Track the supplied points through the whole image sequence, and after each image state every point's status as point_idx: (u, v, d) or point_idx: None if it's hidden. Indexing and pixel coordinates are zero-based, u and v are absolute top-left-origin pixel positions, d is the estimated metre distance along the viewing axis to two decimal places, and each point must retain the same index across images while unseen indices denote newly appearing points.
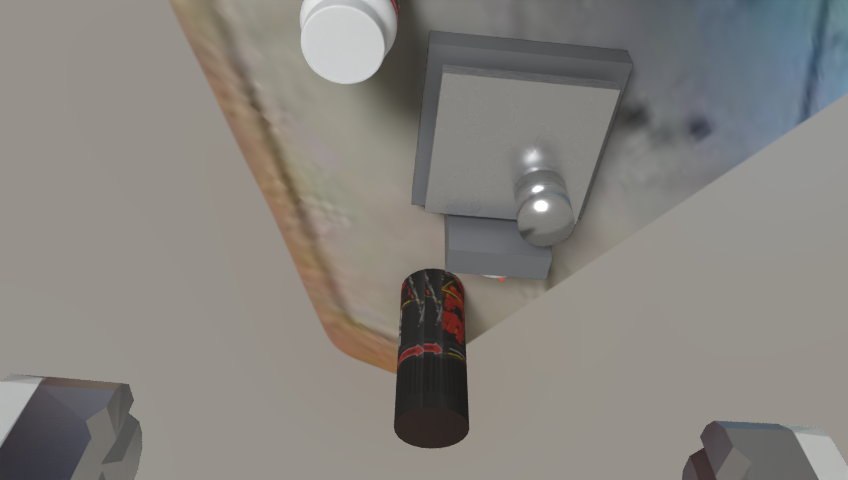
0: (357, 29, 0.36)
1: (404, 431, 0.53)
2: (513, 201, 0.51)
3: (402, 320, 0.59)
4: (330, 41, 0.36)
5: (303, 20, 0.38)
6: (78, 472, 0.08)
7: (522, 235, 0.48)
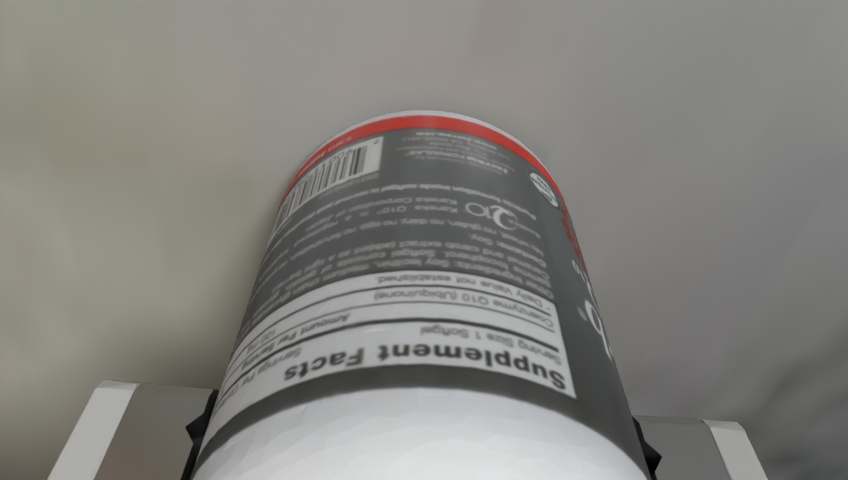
0: None
1: None
2: None
3: None
4: None
5: None
6: (184, 478, 0.08)
7: None
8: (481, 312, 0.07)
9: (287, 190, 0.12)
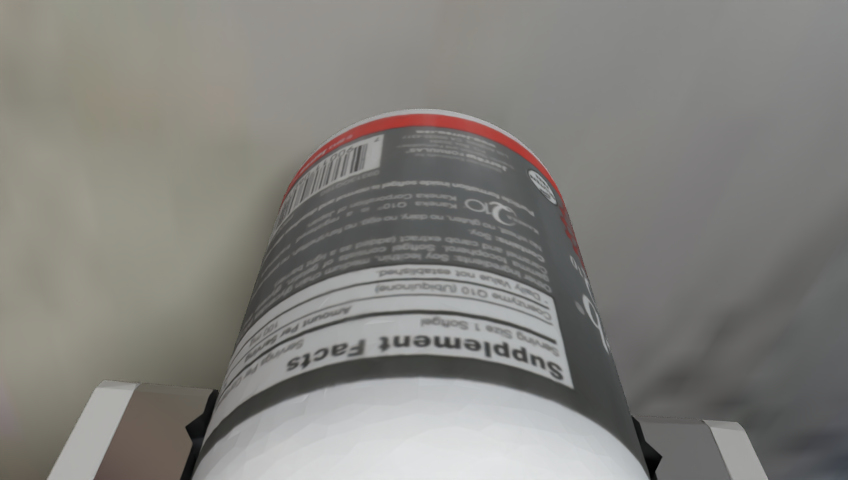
0: None
1: None
2: None
3: None
4: None
5: None
6: (183, 478, 0.08)
7: None
8: (480, 304, 0.07)
9: (289, 188, 0.12)
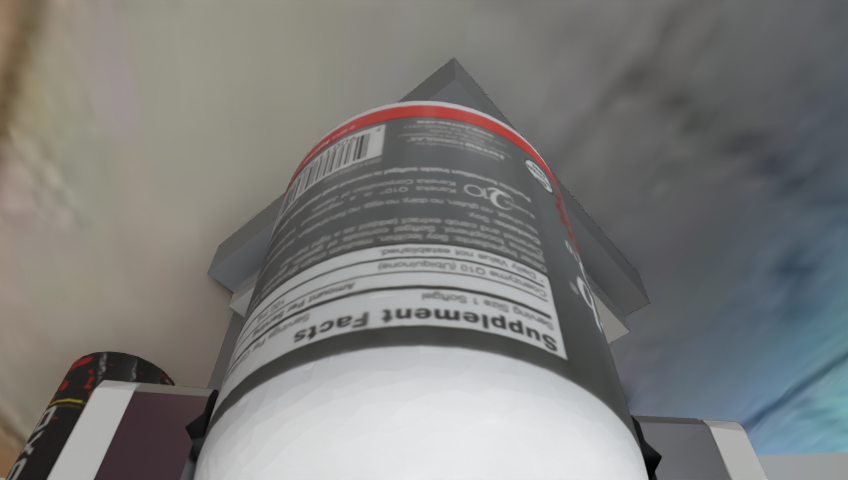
0: None
1: None
2: None
3: (47, 430, 0.31)
4: None
5: (276, 461, 0.07)
6: (183, 478, 0.08)
7: None
8: (478, 281, 0.08)
9: (293, 177, 0.12)
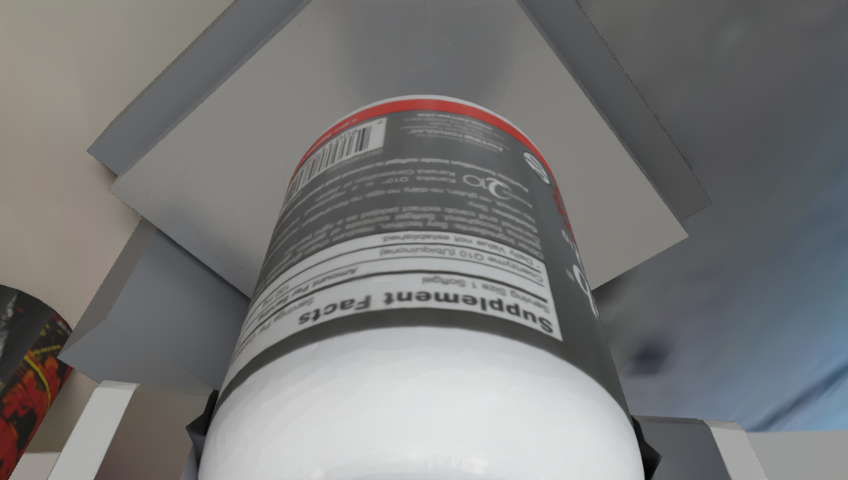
0: None
1: None
2: None
3: None
4: None
5: (282, 436, 0.07)
6: (184, 478, 0.08)
7: None
8: (478, 266, 0.08)
9: (296, 169, 0.13)
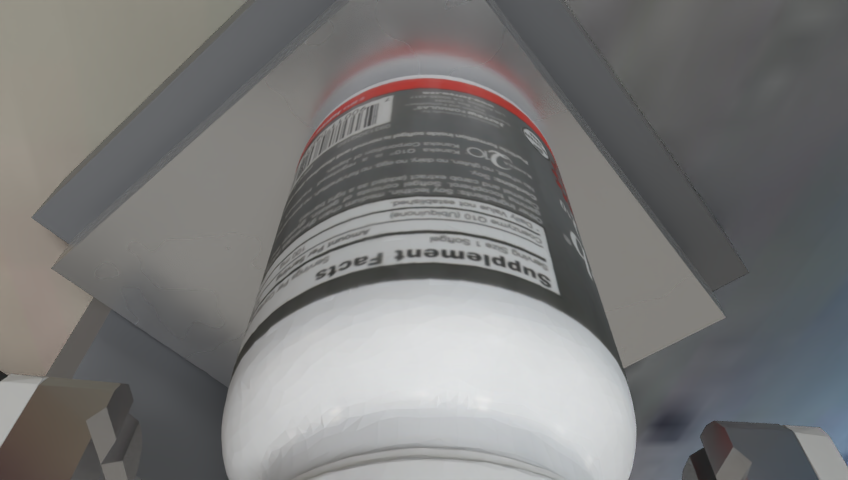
0: None
1: None
2: None
3: None
4: None
5: (303, 378, 0.07)
6: (78, 472, 0.08)
7: None
8: (481, 227, 0.09)
9: (306, 146, 0.13)
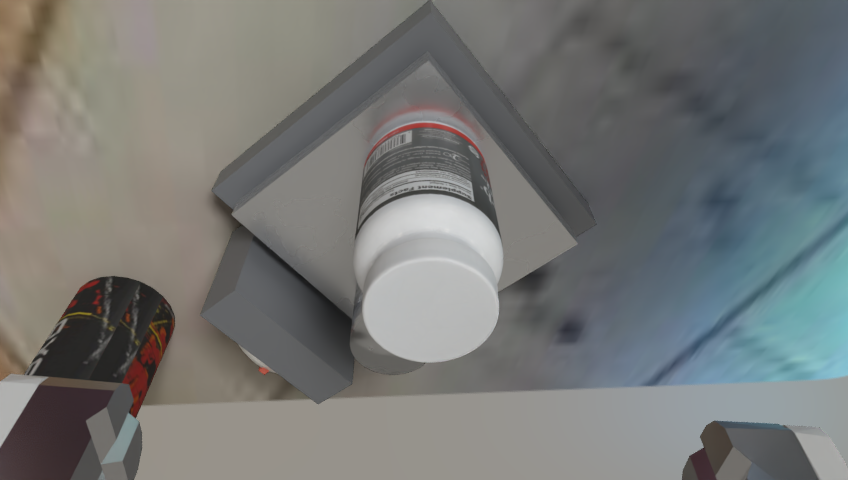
0: (470, 312, 0.22)
1: None
2: (353, 280, 0.34)
3: (60, 336, 0.35)
4: (424, 298, 0.22)
5: (389, 224, 0.23)
6: (79, 472, 0.08)
7: (353, 337, 0.31)
8: (447, 180, 0.24)
9: (370, 152, 0.29)
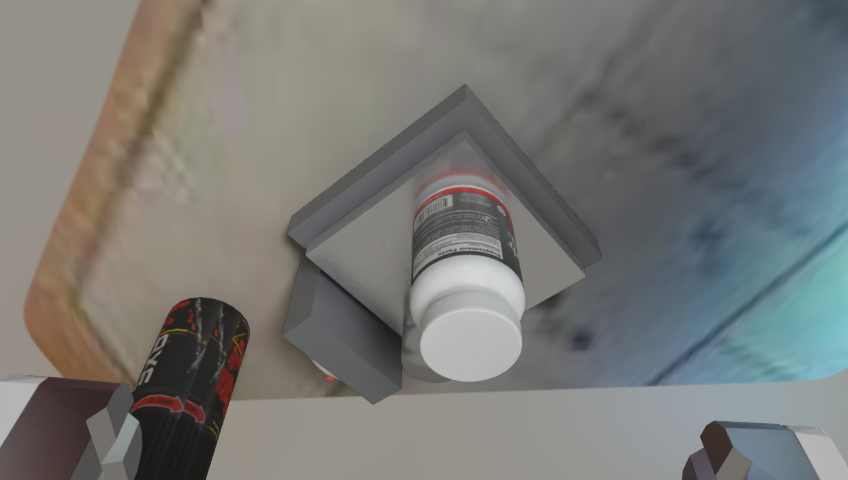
0: (500, 346, 0.30)
1: None
2: (402, 305, 0.42)
3: (164, 349, 0.43)
4: (466, 336, 0.30)
5: (438, 279, 0.31)
6: (79, 472, 0.08)
7: (404, 354, 0.39)
8: (482, 241, 0.32)
9: (419, 210, 0.36)
